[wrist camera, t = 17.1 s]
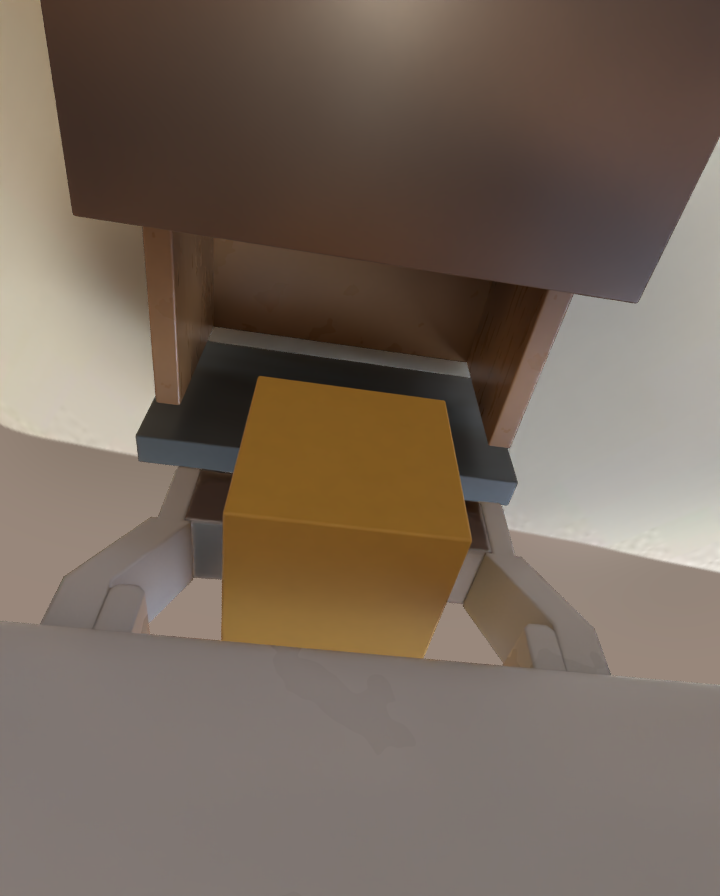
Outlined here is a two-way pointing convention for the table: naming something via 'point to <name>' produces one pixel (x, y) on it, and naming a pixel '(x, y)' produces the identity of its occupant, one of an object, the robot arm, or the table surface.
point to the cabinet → (397, 128)
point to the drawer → (340, 322)
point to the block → (342, 521)
